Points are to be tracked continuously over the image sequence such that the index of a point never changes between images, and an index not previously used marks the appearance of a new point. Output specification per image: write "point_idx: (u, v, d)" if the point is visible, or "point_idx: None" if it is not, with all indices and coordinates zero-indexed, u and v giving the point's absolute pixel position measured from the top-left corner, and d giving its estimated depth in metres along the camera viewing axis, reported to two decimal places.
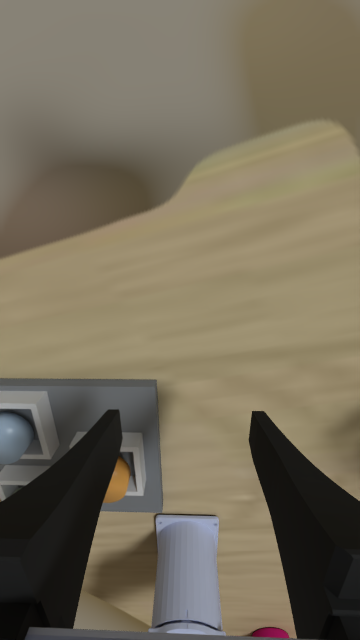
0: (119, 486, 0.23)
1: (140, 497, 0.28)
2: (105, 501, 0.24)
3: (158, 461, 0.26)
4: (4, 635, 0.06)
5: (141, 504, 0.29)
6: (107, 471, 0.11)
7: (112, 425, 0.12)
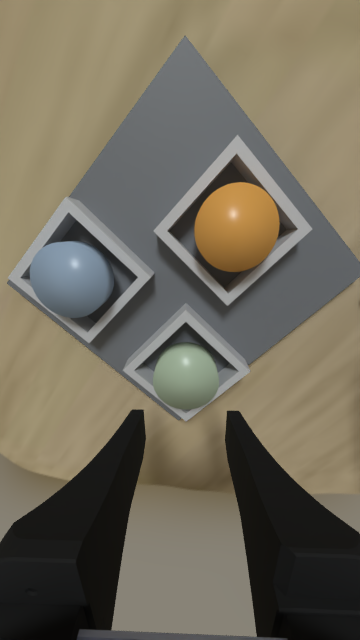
0: (258, 205, 0.13)
1: (315, 270, 0.17)
2: (260, 257, 0.14)
3: (292, 178, 0.15)
4: (58, 637, 0.06)
5: (325, 282, 0.17)
6: (134, 472, 0.11)
7: (139, 425, 0.12)
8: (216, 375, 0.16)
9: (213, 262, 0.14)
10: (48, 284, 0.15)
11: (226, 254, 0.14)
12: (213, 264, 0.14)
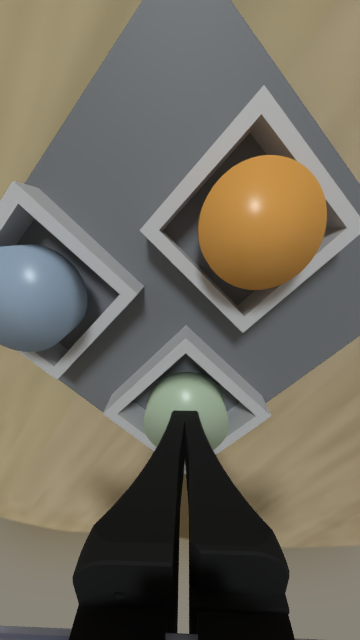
0: (296, 191, 0.08)
1: None
2: (296, 268, 0.09)
3: (336, 156, 0.11)
4: None
5: None
6: (182, 473, 0.11)
7: (184, 426, 0.12)
8: (225, 417, 0.13)
9: (226, 276, 0.09)
10: None
11: (245, 264, 0.09)
12: (226, 279, 0.10)
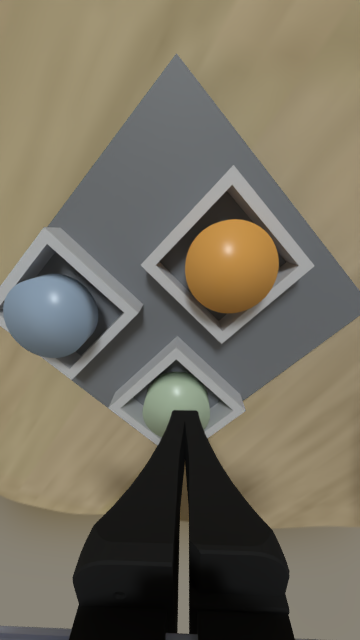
0: (255, 244, 0.11)
1: (316, 304, 0.16)
2: (257, 298, 0.12)
3: (293, 209, 0.14)
4: None
5: (326, 317, 0.16)
6: (182, 473, 0.11)
7: (184, 426, 0.12)
8: (207, 407, 0.16)
9: (205, 303, 0.13)
10: (24, 323, 0.13)
11: (220, 295, 0.12)
12: (205, 305, 0.13)
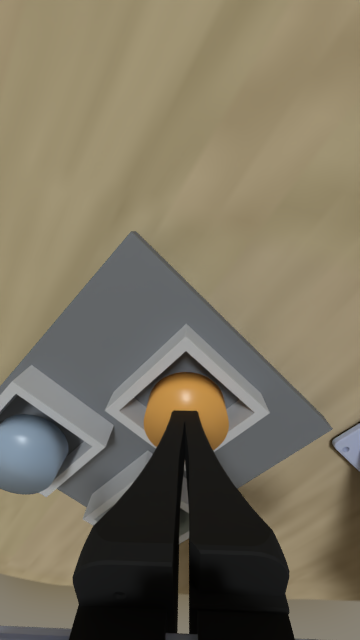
0: (206, 408, 0.13)
1: (279, 426, 0.16)
2: (212, 447, 0.13)
3: (251, 351, 0.15)
4: None
5: (290, 437, 0.17)
6: (182, 473, 0.11)
7: (184, 426, 0.12)
8: None
9: None
10: None
11: None
12: None
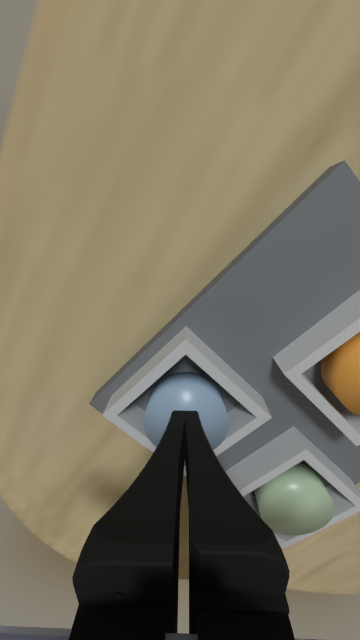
0: None
1: None
2: None
3: None
4: None
5: None
6: (182, 473, 0.11)
7: (184, 426, 0.12)
8: (332, 507, 0.15)
9: (353, 409, 0.12)
10: (163, 427, 0.13)
11: None
12: (352, 410, 0.13)
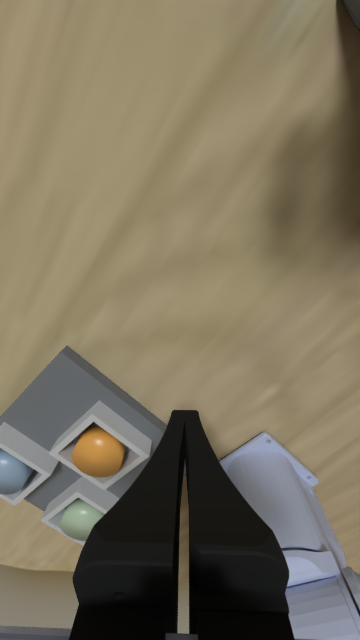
0: (106, 450, 0.22)
1: None
2: (113, 471, 0.23)
3: (142, 416, 0.23)
4: None
5: None
6: (182, 473, 0.11)
7: (184, 426, 0.12)
8: None
9: (86, 473, 0.23)
10: None
11: (93, 469, 0.23)
12: (86, 473, 0.23)
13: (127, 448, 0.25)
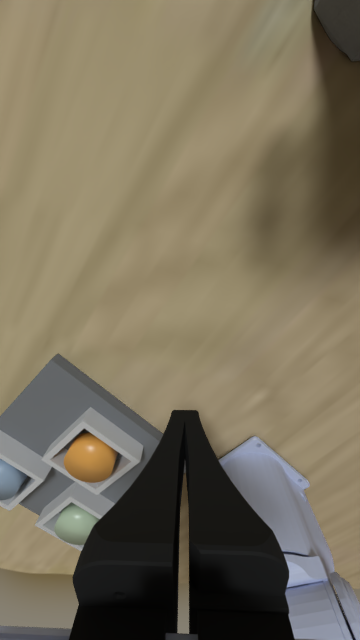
0: (97, 456, 0.22)
1: None
2: (105, 477, 0.23)
3: (132, 421, 0.24)
4: None
5: None
6: (182, 473, 0.11)
7: (184, 426, 0.12)
8: None
9: (78, 478, 0.23)
10: None
11: (85, 475, 0.23)
12: (78, 479, 0.23)
13: (119, 453, 0.25)
